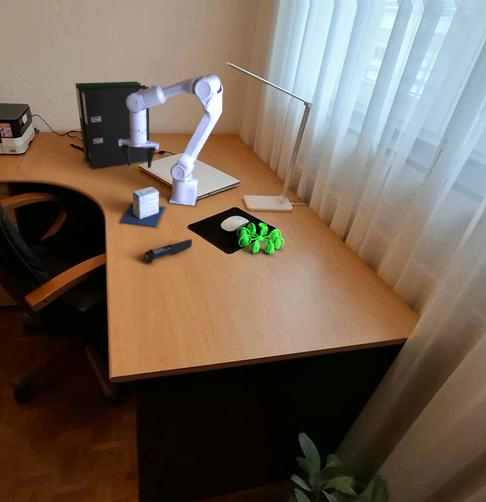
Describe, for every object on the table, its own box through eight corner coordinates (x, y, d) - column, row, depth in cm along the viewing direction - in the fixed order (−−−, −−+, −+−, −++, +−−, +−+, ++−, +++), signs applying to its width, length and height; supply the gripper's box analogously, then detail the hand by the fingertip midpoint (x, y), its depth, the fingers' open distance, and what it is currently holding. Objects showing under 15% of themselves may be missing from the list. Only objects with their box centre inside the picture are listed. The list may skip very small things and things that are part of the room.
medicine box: (151, 208, 125) (151, 186, 120) (159, 213, 122) (159, 190, 117) (133, 214, 121) (132, 191, 116) (139, 219, 118) (139, 196, 113)
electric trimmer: (194, 250, 105) (195, 242, 103) (148, 264, 98) (148, 255, 96) (187, 244, 108) (188, 236, 106) (142, 258, 101) (142, 248, 99)
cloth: (164, 207, 126) (164, 207, 126) (155, 227, 115) (155, 226, 115) (132, 204, 127) (132, 203, 127) (120, 222, 116) (120, 222, 116)
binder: (138, 151, 174) (136, 81, 155) (150, 161, 163) (150, 87, 145) (84, 158, 162) (75, 83, 144) (93, 169, 152) (84, 90, 134)
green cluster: (287, 238, 113) (291, 219, 109) (277, 262, 102) (282, 243, 98) (242, 226, 118) (245, 208, 114) (228, 249, 107) (231, 229, 103)
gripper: (114, 130, 120) (117, 167, 128) (155, 134, 119) (155, 172, 126) (121, 125, 126) (123, 161, 134) (160, 128, 124) (160, 165, 132)
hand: (139, 166), depth 130 cm, fingers open, 7 cm apart
